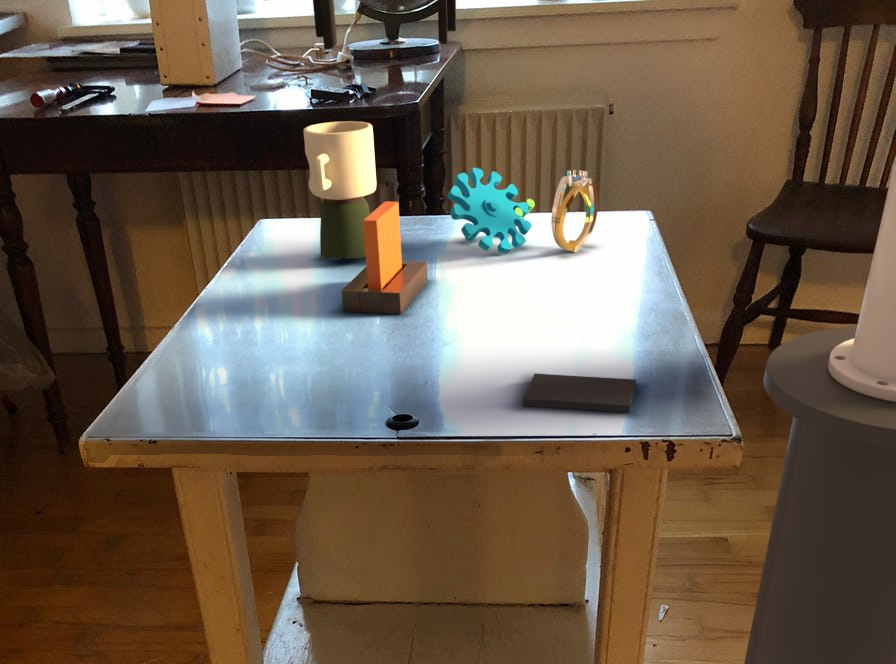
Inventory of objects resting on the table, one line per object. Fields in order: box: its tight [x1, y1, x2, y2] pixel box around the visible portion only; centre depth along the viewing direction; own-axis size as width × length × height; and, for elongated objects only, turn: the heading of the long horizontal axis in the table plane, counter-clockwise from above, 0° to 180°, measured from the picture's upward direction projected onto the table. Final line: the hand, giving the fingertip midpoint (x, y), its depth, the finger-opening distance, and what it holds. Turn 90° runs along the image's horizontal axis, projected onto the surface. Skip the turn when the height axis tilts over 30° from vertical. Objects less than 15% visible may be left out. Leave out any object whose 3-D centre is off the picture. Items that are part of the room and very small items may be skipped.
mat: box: [522, 373, 637, 414], centre depth 75 cm, size 8×5×1 cm, turn 74°
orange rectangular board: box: [363, 201, 403, 289], centre depth 94 cm, size 1×7×8 cm, turn 164°
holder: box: [340, 260, 429, 315], centre depth 96 cm, size 6×10×2 cm, turn 164°
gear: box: [447, 167, 536, 255], centre depth 108 cm, size 11×6×10 cm
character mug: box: [303, 120, 377, 263], centre depth 103 cm, size 11×7×13 cm, turn 158°
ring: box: [550, 169, 599, 253], centre depth 103 cm, size 7×3×8 cm, turn 134°
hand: (387, 44), depth 82 cm, fingers open, 9 cm apart
